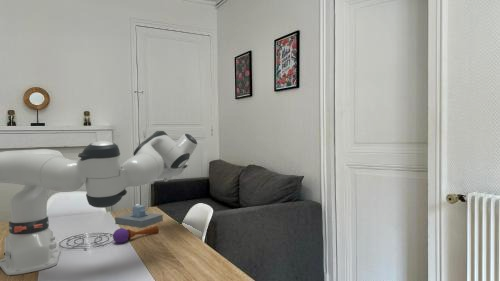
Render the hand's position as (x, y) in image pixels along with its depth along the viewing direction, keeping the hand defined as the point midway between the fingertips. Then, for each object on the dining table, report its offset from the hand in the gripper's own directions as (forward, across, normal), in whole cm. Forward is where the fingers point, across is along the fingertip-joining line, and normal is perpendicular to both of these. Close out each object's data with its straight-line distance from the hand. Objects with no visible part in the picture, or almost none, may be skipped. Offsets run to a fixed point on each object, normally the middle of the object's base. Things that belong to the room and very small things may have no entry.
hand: (158, 181), depth 166 cm
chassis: (+24, 0, -6) cm, 24 cm away
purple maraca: (+10, -20, -20) cm, 30 cm away
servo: (+24, -1, -6) cm, 24 cm away
